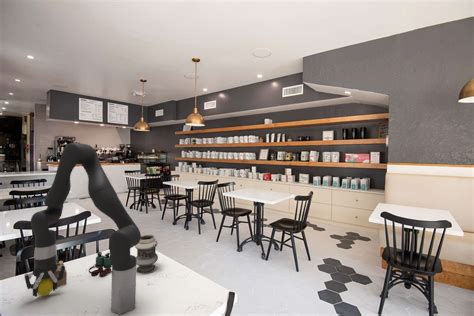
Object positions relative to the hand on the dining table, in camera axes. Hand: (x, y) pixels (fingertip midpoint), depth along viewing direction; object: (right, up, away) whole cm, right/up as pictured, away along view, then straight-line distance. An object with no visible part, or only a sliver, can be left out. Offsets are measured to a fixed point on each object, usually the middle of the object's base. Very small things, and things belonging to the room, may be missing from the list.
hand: (45, 292), depth 101 cm
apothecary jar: (+34, -3, +27) cm, 43 cm away
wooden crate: (-4, -1, +10) cm, 11 cm away
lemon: (0, -2, 0) cm, 2 cm away
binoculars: (+13, -2, +20) cm, 24 cm away
